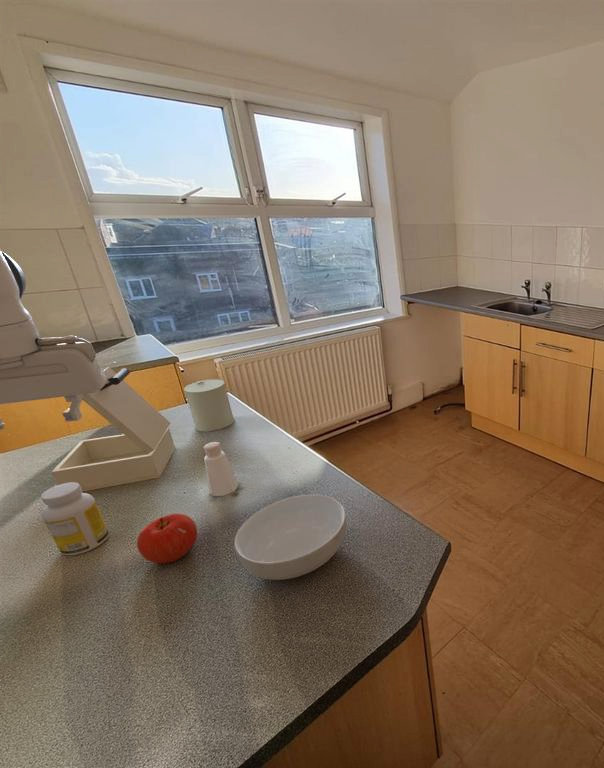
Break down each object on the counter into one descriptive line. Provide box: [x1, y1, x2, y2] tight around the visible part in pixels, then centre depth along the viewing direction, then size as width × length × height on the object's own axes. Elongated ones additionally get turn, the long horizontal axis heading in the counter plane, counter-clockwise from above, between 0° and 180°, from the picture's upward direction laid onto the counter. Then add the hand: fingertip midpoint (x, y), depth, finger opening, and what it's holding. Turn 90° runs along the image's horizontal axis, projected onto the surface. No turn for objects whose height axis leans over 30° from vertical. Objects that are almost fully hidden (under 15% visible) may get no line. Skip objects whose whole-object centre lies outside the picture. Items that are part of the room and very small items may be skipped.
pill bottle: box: [40, 482, 110, 556], centre depth 75 cm, size 6×6×12 cm
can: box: [183, 378, 235, 433], centre depth 116 cm, size 9×9×12 cm
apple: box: [136, 513, 198, 564], centre depth 73 cm, size 8×8×8 cm
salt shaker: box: [203, 441, 240, 497], centre depth 90 cm, size 5×5×11 cm
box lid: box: [82, 366, 171, 454], centre depth 94 cm, size 17×14×6 cm
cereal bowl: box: [234, 494, 348, 581], centre depth 74 cm, size 17×17×7 cm
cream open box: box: [51, 427, 176, 493], centre depth 97 cm, size 17×14×6 cm
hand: (36, 425), depth 69 cm, fingers open, 8 cm apart
